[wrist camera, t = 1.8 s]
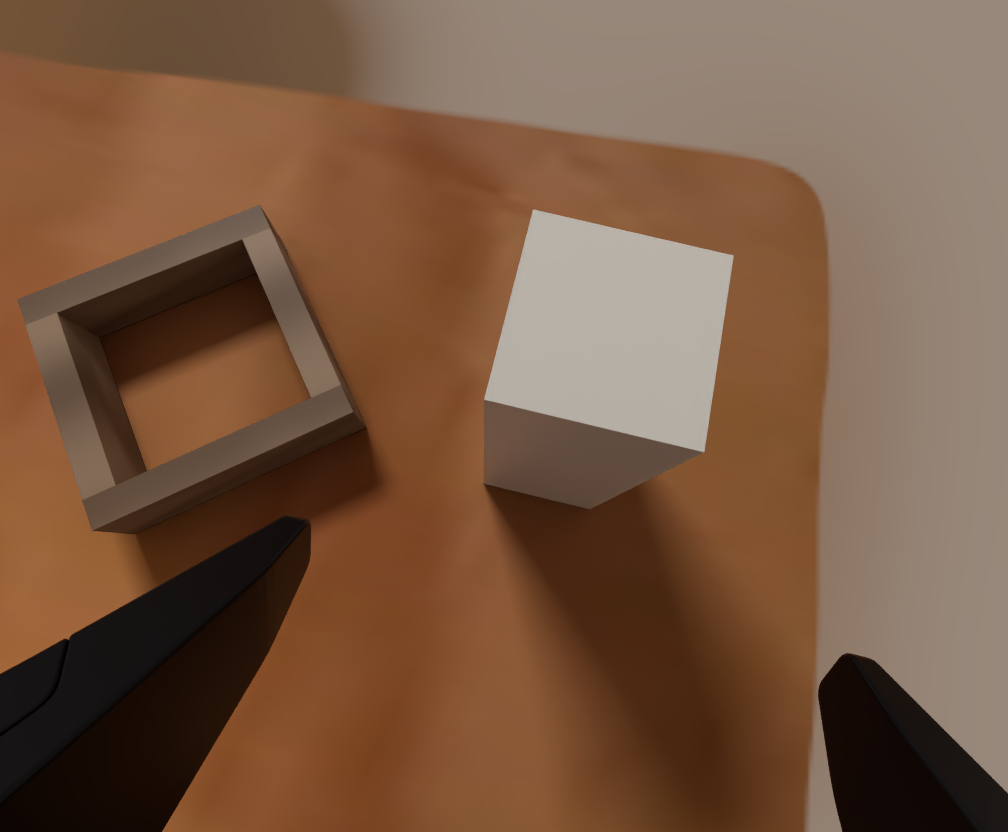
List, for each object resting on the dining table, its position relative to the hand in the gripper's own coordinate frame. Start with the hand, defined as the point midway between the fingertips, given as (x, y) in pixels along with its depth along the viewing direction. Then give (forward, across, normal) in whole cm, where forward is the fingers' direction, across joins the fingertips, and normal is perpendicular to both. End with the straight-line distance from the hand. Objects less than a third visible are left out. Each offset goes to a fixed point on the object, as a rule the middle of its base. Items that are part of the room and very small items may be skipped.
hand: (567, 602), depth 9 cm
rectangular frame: (+13, +15, +6) cm, 21 cm away
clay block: (+14, 0, +6) cm, 15 cm away
